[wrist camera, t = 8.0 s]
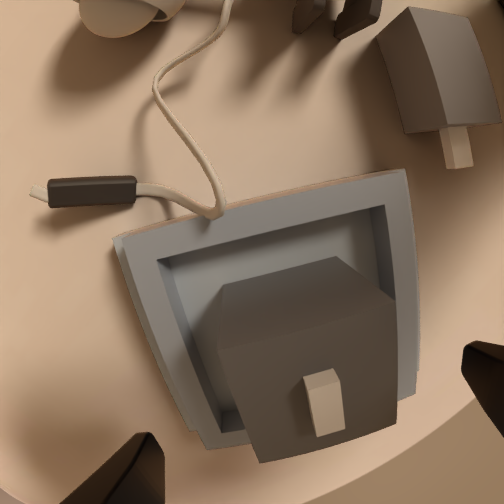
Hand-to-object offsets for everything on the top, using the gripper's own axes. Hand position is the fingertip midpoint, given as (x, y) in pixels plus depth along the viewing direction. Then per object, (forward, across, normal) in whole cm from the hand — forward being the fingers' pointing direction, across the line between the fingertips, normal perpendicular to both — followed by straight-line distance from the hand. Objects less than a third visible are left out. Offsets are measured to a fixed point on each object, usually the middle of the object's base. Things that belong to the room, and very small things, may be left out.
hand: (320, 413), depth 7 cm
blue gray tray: (+7, 0, 0) cm, 7 cm away
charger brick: (+6, 0, 0) cm, 6 cm away
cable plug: (+7, -9, -9) cm, 15 cm away
